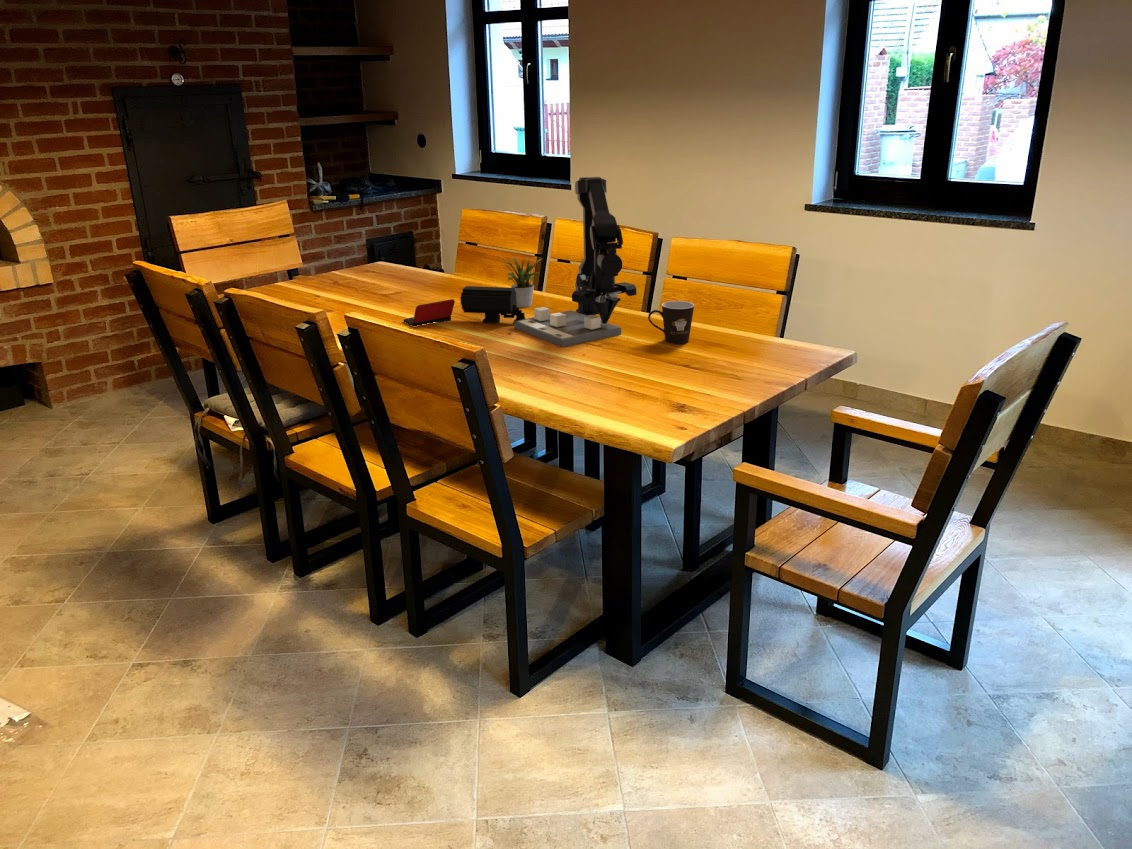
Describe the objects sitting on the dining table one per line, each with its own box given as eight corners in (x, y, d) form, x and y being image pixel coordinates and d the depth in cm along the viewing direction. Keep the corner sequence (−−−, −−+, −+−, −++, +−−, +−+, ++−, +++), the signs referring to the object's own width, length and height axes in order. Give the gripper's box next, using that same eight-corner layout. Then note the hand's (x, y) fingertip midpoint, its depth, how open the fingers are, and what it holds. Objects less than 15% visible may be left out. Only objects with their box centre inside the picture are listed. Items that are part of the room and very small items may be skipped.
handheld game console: (440, 316, 274) (438, 291, 272) (457, 323, 266) (455, 298, 263) (402, 322, 268) (400, 298, 265) (418, 330, 260) (416, 305, 257)
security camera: (521, 326, 261) (520, 292, 258) (460, 323, 265) (458, 290, 261) (527, 320, 268) (526, 286, 264) (467, 317, 271) (465, 284, 268)
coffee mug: (695, 337, 248) (697, 302, 245) (689, 346, 241) (690, 309, 237) (654, 334, 252) (655, 299, 248) (646, 343, 244) (647, 306, 241)
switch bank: (570, 316, 271) (570, 309, 270) (621, 334, 252) (621, 326, 252) (514, 327, 260) (514, 320, 259) (562, 347, 242) (562, 339, 241)
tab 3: (593, 325, 253) (593, 314, 252) (600, 327, 251) (600, 317, 249) (584, 327, 251) (584, 316, 250) (591, 329, 249) (591, 319, 248)
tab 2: (559, 322, 256) (559, 312, 255) (566, 325, 253) (566, 314, 252) (550, 324, 254) (550, 314, 253) (556, 327, 252) (556, 316, 251)
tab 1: (543, 316, 262) (543, 306, 261) (549, 319, 260) (549, 309, 258) (534, 318, 260) (534, 308, 259) (540, 321, 258) (540, 310, 257)
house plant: (488, 308, 281) (486, 256, 275) (507, 298, 292) (505, 248, 286) (530, 312, 276) (529, 259, 269) (548, 302, 287) (547, 250, 281)
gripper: (613, 258, 258) (612, 312, 264) (559, 267, 248) (560, 322, 254) (638, 265, 250) (637, 320, 256) (584, 274, 240) (584, 331, 246)
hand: (604, 323), depth 253 cm, fingers closed
